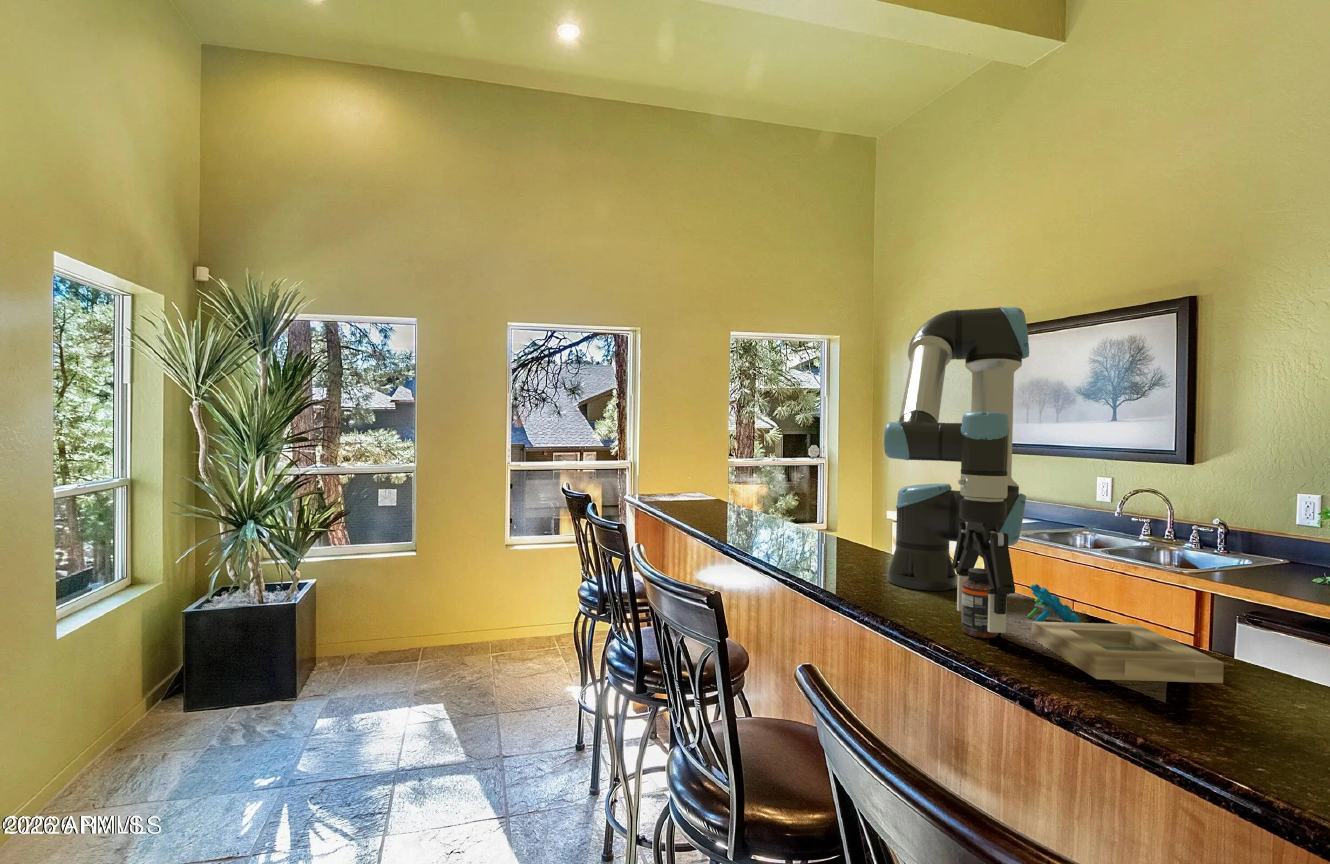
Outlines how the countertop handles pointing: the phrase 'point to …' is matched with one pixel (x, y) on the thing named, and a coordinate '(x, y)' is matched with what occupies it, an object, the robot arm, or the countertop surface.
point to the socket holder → (1126, 652)
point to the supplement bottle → (976, 604)
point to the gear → (1050, 606)
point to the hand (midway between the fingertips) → (979, 621)
